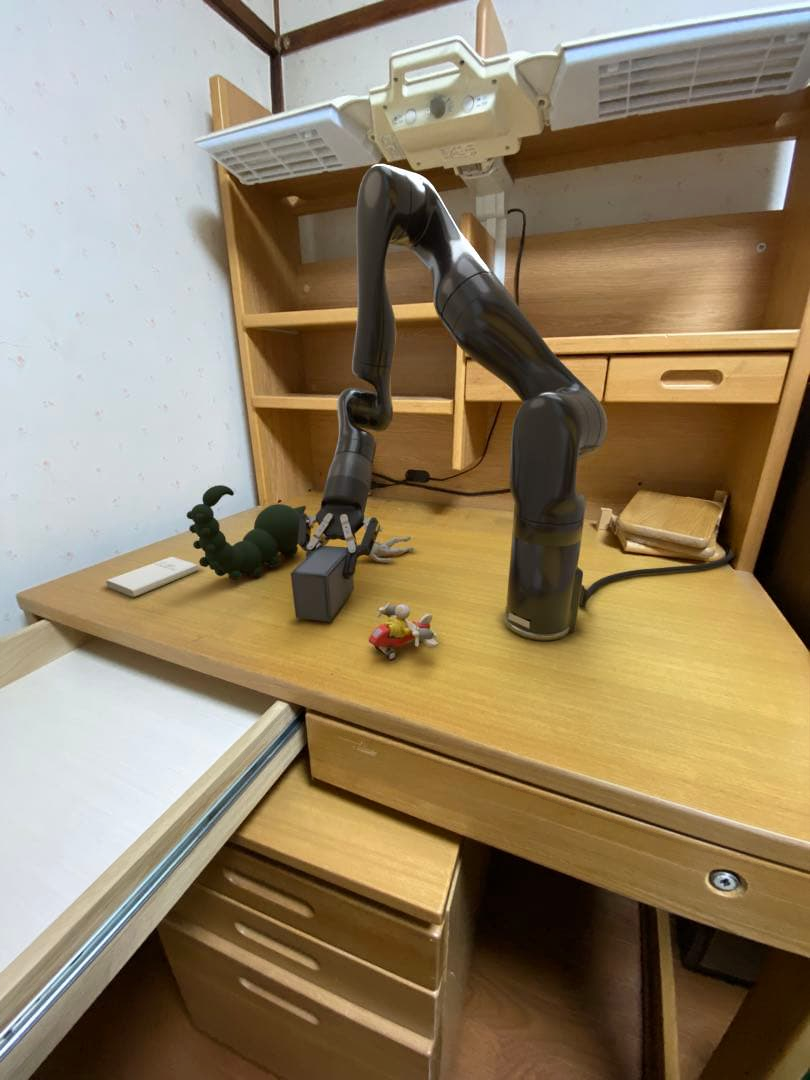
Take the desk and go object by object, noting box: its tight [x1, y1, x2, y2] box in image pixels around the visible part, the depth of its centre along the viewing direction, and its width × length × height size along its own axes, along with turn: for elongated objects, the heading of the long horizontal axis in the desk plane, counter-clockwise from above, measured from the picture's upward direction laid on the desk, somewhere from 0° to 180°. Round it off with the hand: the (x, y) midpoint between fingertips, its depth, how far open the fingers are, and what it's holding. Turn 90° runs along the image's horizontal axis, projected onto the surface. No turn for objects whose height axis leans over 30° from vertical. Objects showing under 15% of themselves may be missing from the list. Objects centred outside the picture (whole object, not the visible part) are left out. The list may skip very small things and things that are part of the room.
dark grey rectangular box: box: [290, 545, 355, 623], centre depth 73 cm, size 11×6×8 cm, turn 167°
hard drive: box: [105, 556, 199, 598], centre depth 84 cm, size 2×8×12 cm
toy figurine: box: [186, 484, 307, 582], centre depth 86 cm, size 9×19×25 cm
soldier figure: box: [357, 526, 415, 563], centre depth 92 cm, size 8×5×12 cm
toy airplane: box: [368, 602, 439, 661], centre depth 63 cm, size 9×9×6 cm
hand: (327, 575), depth 74 cm, fingers closed on dark grey rectangular box, 5 cm apart
